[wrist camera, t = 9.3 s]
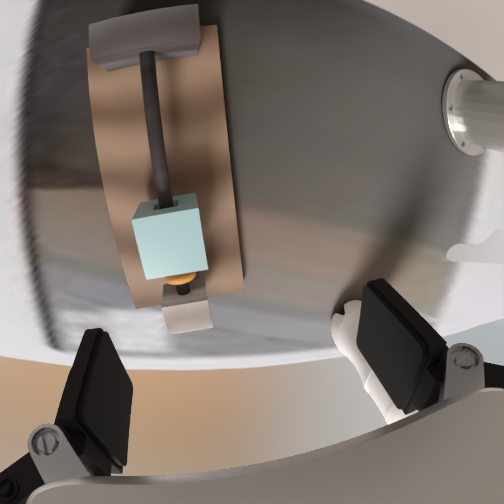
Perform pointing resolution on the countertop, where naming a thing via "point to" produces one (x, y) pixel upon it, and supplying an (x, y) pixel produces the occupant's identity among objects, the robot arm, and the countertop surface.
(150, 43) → the linear slide rail
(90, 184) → the countertop surface
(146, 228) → the sleeve
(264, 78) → the countertop surface
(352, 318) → the water bottle
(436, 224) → the countertop surface
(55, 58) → the countertop surface
